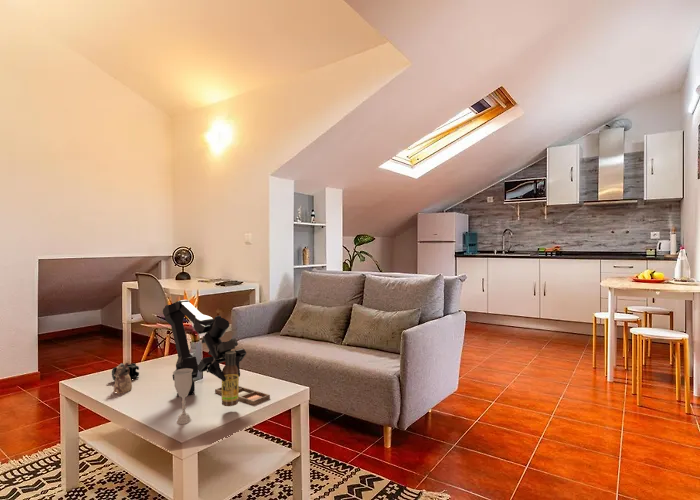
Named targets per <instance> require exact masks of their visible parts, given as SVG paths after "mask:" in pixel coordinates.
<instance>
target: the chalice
mask: <svg viewBox="0 0 700 500" xmlns="http://www.w3.org/2000/svg"><path fill="white" fill-rule="evenodd" d="M175 370H176V369H175ZM175 370H174V371H173V372H172V375H173V374H174V380H173V383H174V387H175V390H176V394H177V393H178V395H179V396H178V397H179V398H181V402H180V403H181V405H182V406H181V410H182V413H180V414H179V416H178V418H177V421H176V424H178V425H186V424H189V423H191V422H192V418H191V416H190V414H189V413H187V412H186V409H187V406H186V403H187V402H186V397H188V396H189V395H188V393H189V391H190V388H191V385H192V371H193V369H189V368H185V369H179V370H176V371H175Z"/></svg>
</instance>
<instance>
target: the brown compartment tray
mask: <svg viewBox="0 0 700 500" xmlns="http://www.w3.org/2000/svg"><path fill="white" fill-rule="evenodd" d="M214 389H215V390H214V393H215V394H218V395H221V396H222V386H221V387H217V388H214ZM270 399H271V394H269V393H265V392H261V391H257V390H254V389H250V388H247V387H244V386H240V385H239V394H238V402H239V401H240V402H243V403H246V404H249V405H251V406H252V405H253V406H255V405H257V404H259V403H262V402H264V401H267V400H270Z"/></svg>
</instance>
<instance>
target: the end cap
mask: <svg viewBox="0 0 700 500" xmlns="http://www.w3.org/2000/svg"><path fill="white" fill-rule="evenodd" d="M127 367H128V368H129V370H130V372H129V376H130V378H131V381H133V380H132V379H135V380H137V379H136V378H139V376H140V372H139V370H140V366H138V365H137V364H136V363H135V362H134V363H129V364H128V365H127ZM116 369H117V366H116V367H113V368H112V370H111V377H112V380H113V381H114V382H115V379H116V377H115V376H114V375H115V373H116ZM127 371H128V370H127V369H126V370H125V372H127Z"/></svg>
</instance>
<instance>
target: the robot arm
mask: <svg viewBox="0 0 700 500" xmlns="http://www.w3.org/2000/svg"><path fill="white" fill-rule="evenodd" d="M162 314H163V316H164V319H165V321H166V323H168V324H169V325H170V327H171V331H172V336H173V340H174V345H175V349H176V352H177V353H176V354H177V361H176V362H175V370H174V371H176V370H179V369H185V368H189V369H193V371H192V385H191V388H190V391H189V393H188V395H187V396H190V395H194V394H195V391H196V390H195V385H196V383H195V380H194V379H195V378H197V377H198V374H199V373H204V372H206V373H210V374H211V375H213V376H215V377H217V378H218V379H219V380H220V381H221V382H222V381H225V380H226V379H225V376H224V374H223V372H222V370H223V369H222V368H221V366H220V364H221V363H225V352H227V351H233V350H234V349H235V350H234V351H235V352H236V357H235V360H236V361H235V362H236V366H237V367H238V375H239V378H240V376H241V371H240V362H242V361H243V359H244V358H245V356H246V355H247V352H246V351H247V350H245V349H244V348H240V349H236V347H237V346H239V345H238V344H239V343H238V340H237V339H236V338H235V337H233V338H230V339H229V340H227V341H223V340H222V338H223V337H224V335H225V334H226V332H227V330H228V329H229V328H230V322H229V320H227V319H226V318H225V317H222V316H221V315H216V316H215V317H214V318H213V317H211V316H209V315H208V314H207V315H206V314H203V313H202V312H200V311H199V309H197V308H196V306H194V305H193V304H192V303H191V301H190V300H189V299H182V300H177V301H175V302H174V303H170V304H166V305H165V307H164V308H162ZM185 317H186V318H187V319H188V320H189V321H190V322H191V323H192V325H193V326H192V327H193V329H194V331H195V332H196V334H198V335H201V334H204V335H203V336H202V339H201V344H205V345H206V347H207V349H208V352H207V353H208V354H207V355H209V356H206V357H202V359H200V361H199V363H198V361H197V357H196V356H193V355H192V353H190V347H189V343H188V339H187V334H186V330H185V326H184V319H185ZM172 380H173V381H174V374H173V373H172ZM176 396H177V397H180V396H179V395H178V393H177V392H176Z"/></svg>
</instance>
